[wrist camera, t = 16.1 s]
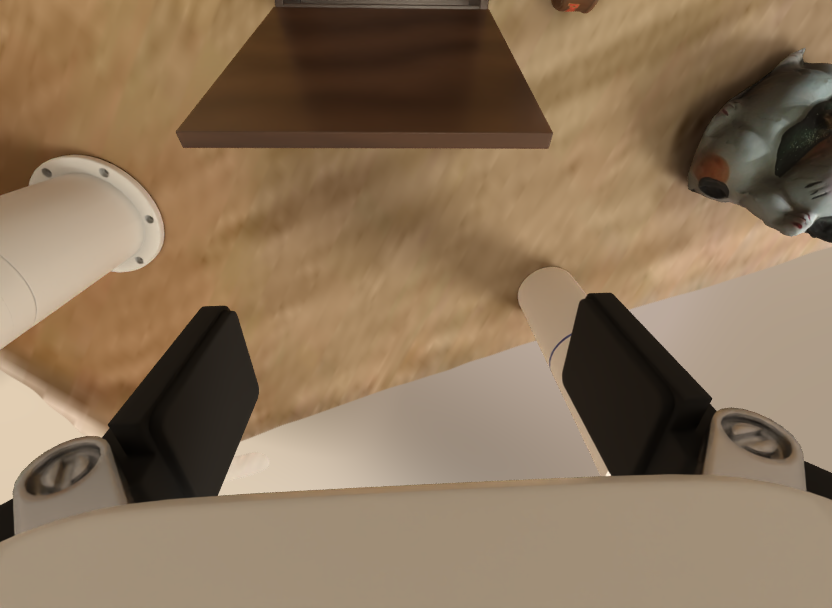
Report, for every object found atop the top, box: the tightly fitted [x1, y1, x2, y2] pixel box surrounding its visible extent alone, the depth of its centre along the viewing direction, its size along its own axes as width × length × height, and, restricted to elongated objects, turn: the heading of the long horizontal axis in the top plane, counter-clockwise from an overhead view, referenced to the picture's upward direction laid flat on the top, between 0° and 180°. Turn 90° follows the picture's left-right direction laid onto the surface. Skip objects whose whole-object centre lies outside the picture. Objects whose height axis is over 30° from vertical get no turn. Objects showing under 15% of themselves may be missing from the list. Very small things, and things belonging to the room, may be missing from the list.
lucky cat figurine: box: [688, 48, 832, 243], centre depth 35 cm, size 15×12×14 cm
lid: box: [176, 7, 553, 149], centre depth 22 cm, size 18×15×1 cm
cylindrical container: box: [518, 267, 611, 476], centre depth 38 cm, size 7×7×25 cm
